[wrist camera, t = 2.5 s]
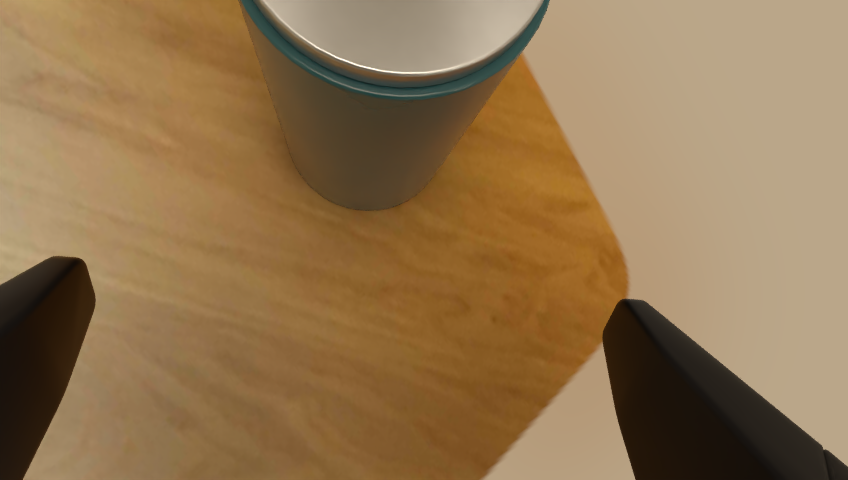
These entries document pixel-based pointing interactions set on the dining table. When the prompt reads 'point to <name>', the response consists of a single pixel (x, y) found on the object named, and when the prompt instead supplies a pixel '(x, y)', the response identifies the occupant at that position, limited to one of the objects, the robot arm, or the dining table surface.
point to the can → (382, 84)
